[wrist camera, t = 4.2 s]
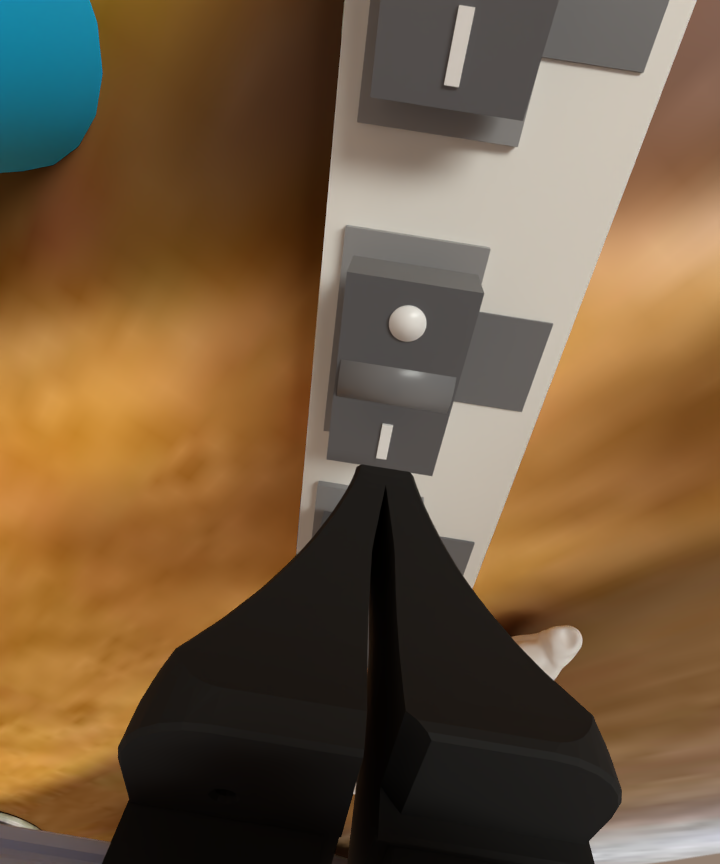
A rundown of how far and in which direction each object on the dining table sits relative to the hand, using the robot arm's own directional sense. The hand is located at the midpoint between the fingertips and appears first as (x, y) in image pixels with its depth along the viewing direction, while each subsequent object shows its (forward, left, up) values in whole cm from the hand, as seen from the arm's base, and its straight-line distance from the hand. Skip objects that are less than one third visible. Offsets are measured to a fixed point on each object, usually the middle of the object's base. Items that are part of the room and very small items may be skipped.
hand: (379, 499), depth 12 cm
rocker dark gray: (0, -2, -3) cm, 4 cm away
